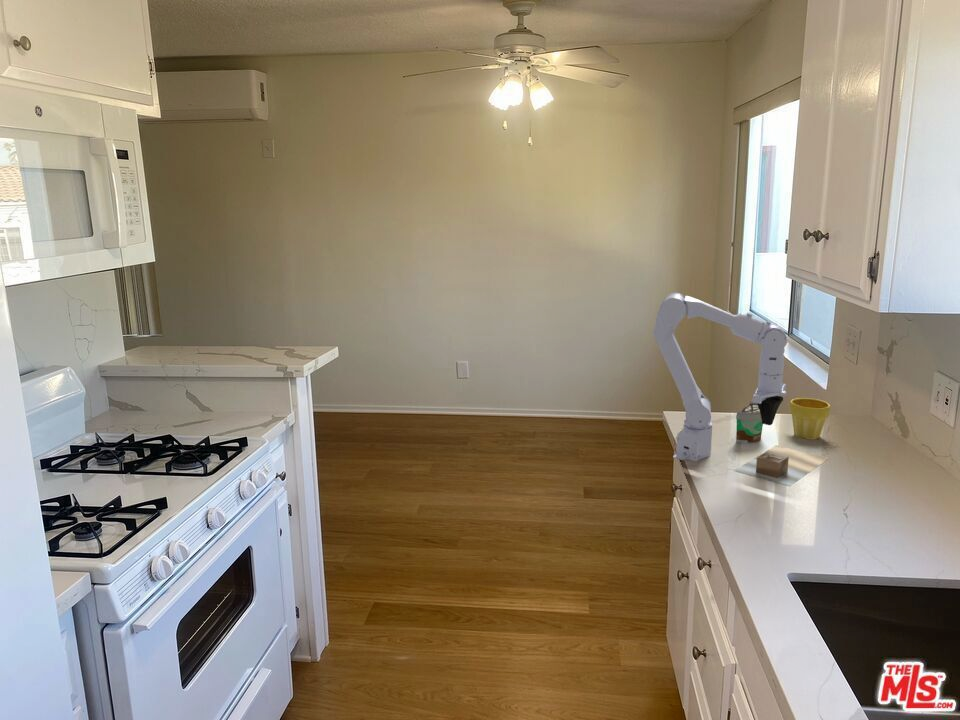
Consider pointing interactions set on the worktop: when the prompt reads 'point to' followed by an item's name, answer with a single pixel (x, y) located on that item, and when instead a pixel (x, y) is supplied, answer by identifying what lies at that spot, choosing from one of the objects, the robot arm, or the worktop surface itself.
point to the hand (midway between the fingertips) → (767, 423)
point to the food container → (749, 424)
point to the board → (797, 465)
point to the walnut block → (772, 464)
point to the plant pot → (808, 416)
